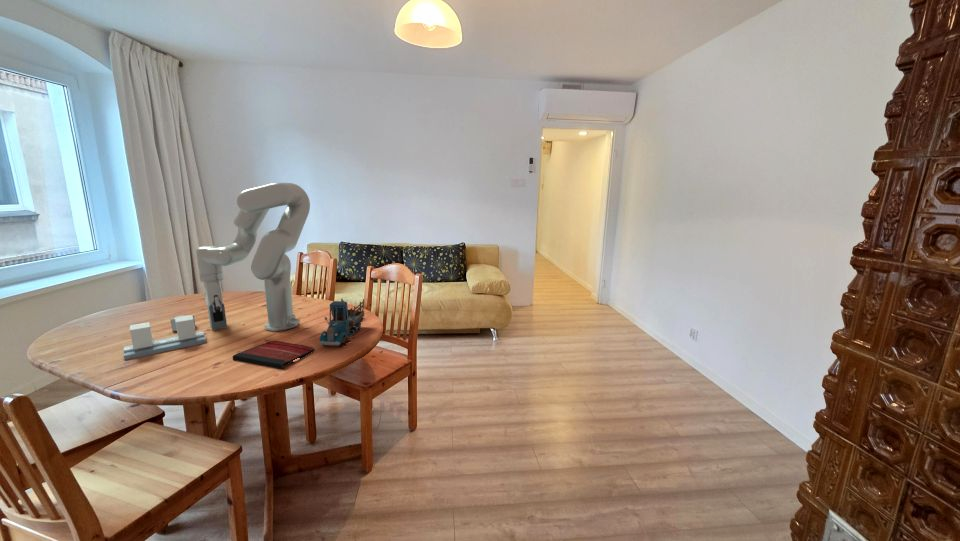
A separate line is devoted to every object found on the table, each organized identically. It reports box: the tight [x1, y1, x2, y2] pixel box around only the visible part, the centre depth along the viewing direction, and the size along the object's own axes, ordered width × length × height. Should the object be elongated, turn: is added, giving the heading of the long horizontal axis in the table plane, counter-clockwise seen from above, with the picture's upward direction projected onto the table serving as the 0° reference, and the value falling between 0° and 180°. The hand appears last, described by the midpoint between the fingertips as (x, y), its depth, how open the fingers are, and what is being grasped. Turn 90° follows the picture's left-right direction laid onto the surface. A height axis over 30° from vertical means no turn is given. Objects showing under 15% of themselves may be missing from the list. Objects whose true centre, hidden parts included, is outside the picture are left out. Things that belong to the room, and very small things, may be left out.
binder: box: [232, 340, 316, 370], centre depth 127 cm, size 16×2×21 cm
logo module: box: [206, 303, 228, 331], centre depth 150 cm, size 5×6×10 cm
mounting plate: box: [123, 330, 207, 361], centre depth 132 cm, size 22×10×2 cm, turn 133°
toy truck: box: [319, 297, 365, 348], centre depth 142 cm, size 11×25×15 cm, turn 178°
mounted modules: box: [129, 314, 197, 349], centre depth 130 cm, size 17×6×7 cm, turn 133°
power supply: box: [169, 314, 197, 332], centre depth 148 cm, size 6×4×5 cm
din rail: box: [123, 331, 205, 354], centre depth 131 cm, size 22×4×1 cm, turn 133°
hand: (217, 318), depth 150 cm, fingers closed on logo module, 6 cm apart
